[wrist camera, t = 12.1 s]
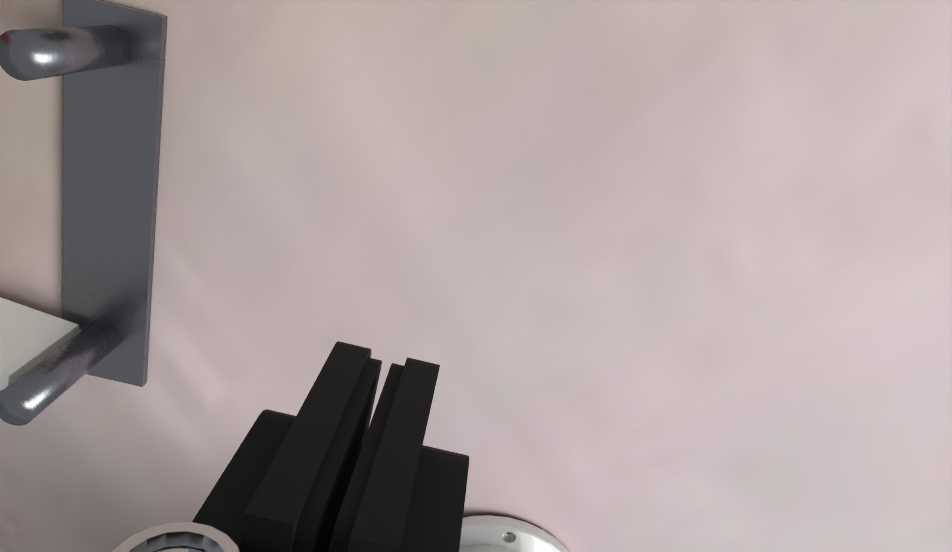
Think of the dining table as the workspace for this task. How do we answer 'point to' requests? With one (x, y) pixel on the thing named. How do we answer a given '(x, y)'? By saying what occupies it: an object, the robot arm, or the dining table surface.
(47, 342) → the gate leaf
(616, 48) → the dining table surface
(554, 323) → the dining table surface
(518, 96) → the dining table surface
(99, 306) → the gate frame
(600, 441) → the dining table surface
